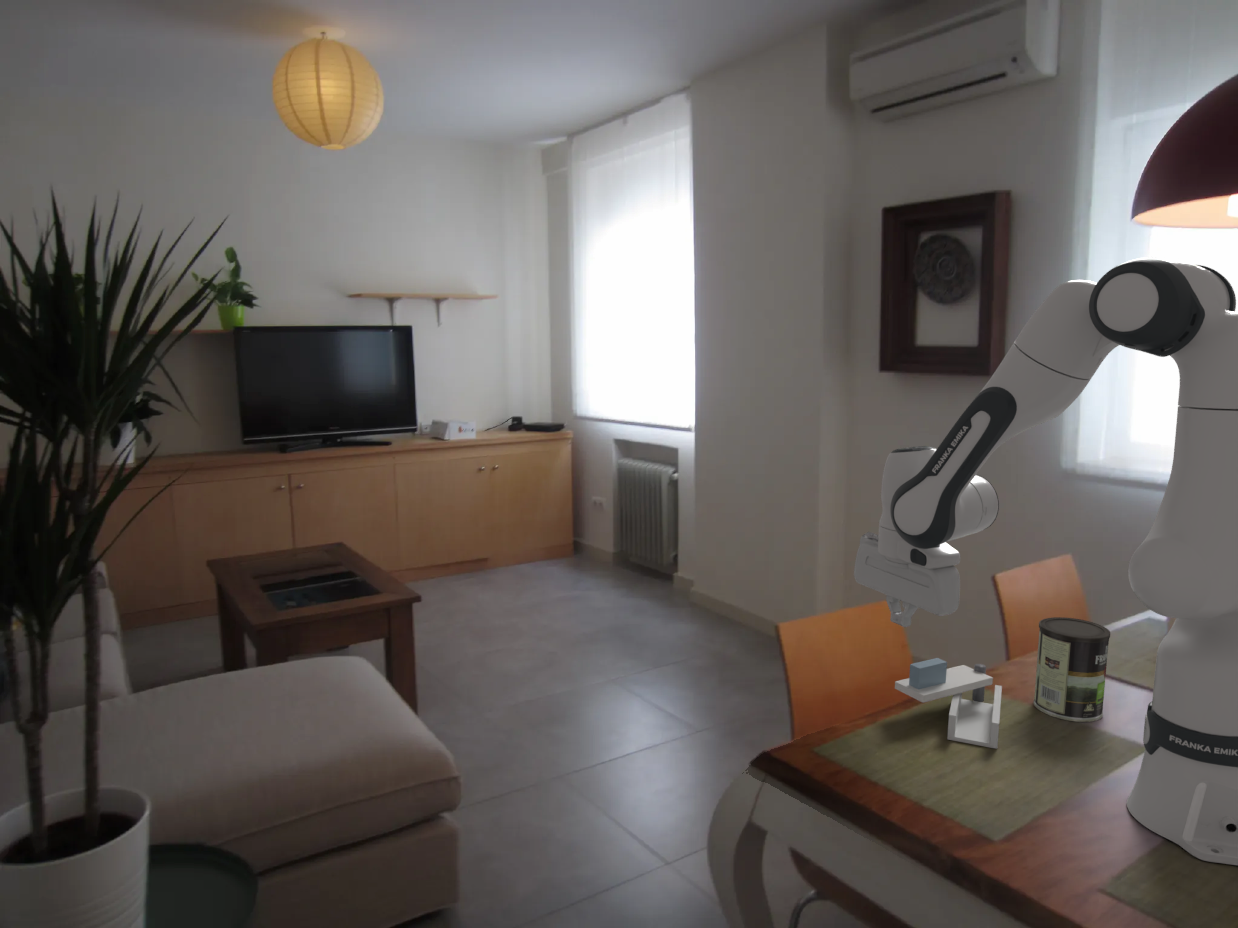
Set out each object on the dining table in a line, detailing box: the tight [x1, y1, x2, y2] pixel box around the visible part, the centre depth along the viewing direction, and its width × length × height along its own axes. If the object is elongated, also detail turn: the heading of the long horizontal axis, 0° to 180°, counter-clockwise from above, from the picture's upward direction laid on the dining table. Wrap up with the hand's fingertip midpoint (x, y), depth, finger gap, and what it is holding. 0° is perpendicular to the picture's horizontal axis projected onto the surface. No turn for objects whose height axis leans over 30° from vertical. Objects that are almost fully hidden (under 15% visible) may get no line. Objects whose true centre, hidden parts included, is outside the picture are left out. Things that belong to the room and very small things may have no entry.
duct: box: [947, 684, 1003, 750], centre depth 135 cm, size 7×15×4 cm, turn 155°
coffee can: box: [1033, 617, 1111, 723], centre depth 140 cm, size 10×10×14 cm
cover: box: [894, 657, 994, 703], centre depth 139 cm, size 6×17×9 cm, turn 117°
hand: (900, 623), depth 142 cm, fingers closed
